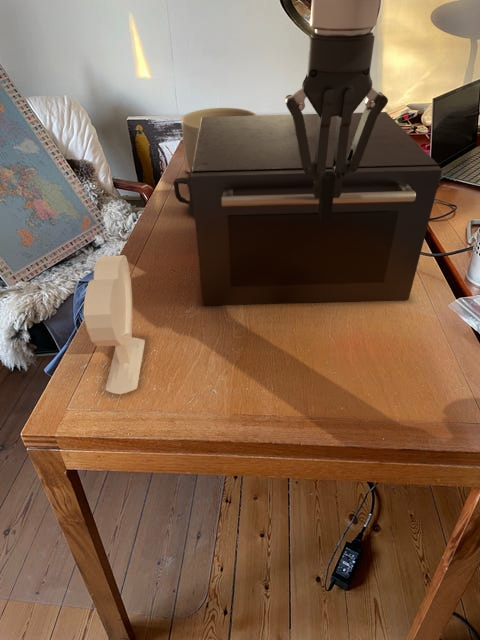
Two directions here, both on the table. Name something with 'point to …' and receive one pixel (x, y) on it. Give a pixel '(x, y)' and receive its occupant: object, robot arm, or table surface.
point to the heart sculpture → (114, 321)
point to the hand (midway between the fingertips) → (324, 217)
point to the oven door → (310, 235)
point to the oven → (295, 144)
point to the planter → (193, 126)
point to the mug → (189, 185)
